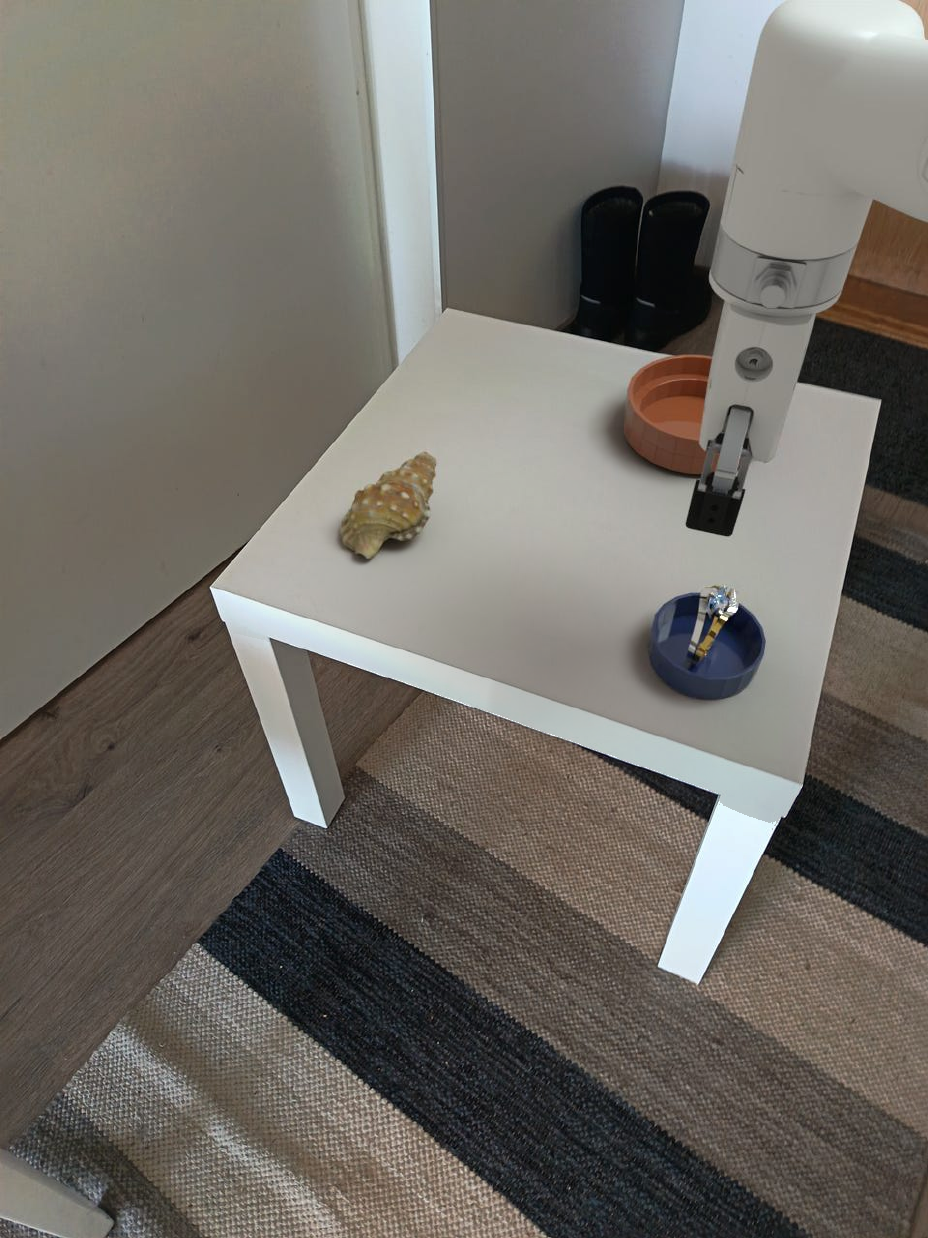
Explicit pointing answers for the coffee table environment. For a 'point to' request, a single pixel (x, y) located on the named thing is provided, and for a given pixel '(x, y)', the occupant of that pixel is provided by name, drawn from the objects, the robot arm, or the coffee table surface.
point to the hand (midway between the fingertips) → (718, 484)
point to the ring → (724, 610)
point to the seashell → (390, 507)
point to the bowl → (669, 412)
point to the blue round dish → (727, 658)
